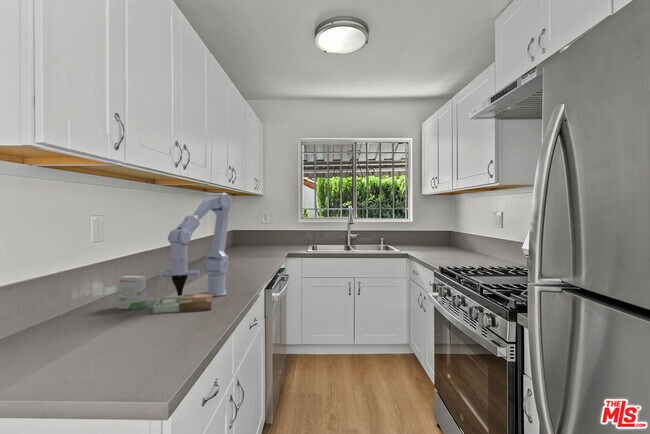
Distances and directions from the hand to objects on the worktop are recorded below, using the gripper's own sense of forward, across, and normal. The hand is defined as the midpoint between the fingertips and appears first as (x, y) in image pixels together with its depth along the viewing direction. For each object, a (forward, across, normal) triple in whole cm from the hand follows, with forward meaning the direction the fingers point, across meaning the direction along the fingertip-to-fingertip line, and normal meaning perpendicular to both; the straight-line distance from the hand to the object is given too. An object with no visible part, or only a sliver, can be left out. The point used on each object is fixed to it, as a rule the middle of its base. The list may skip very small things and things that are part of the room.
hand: (180, 295), depth 141 cm
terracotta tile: (+1, +8, -6) cm, 10 cm away
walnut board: (+4, +6, -3) cm, 8 cm away
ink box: (+4, -17, +1) cm, 18 cm away
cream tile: (+2, -4, 0) cm, 4 cm away
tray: (+4, -4, -3) cm, 6 cm away
